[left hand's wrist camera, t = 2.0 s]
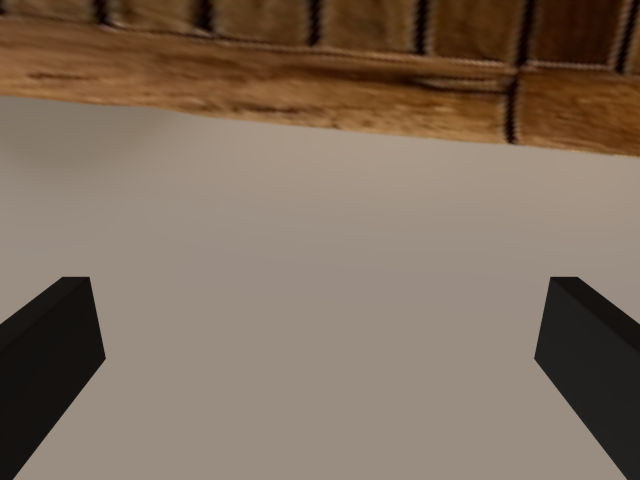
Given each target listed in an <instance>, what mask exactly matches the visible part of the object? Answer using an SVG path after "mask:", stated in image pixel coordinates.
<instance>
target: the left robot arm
mask: <svg viewBox="0 0 640 480" xmlns="http://www.w3.org/2000/svg"><path fill="white" fill-rule="evenodd" d="M105 359H106V357H105V352H104V347H103V342H102V337H101V332H100V327H99V322H98V317H97V312H96V307H95V302H94V297H93V292H92V287H91V282H90V277H62V278H60V279H59V280H58V281H57V282H55V283H54V284H53V285H51V286H50V287H49V288H47V289H46V290H45V291H43V292H42V293H41V294H39V295H38V296H37V297H35V298H34V299H33V300H32V301H30V302H29V303H28V304H26V305H25V306H24V307H22V308H21V309H20V310H18V311H17V312H16V313H14V314H13V315H12V316H11V317H9V318H8V319H7V320H5V321H4V322H3V323H1V324H0V480H13V479H14V477H15V476H16V475H17V473H18V472H19V471H20V470H21V468H22V467H23V466H24V464H25V463H26V462H27V460H28V459H29V458H30V457H31V455H32V454H33V453H34V451H35V450H36V449H37V447H38V446H39V445H40V444H41V442H42V441H43V440H44V438H45V437H46V436H47V434H48V433H49V432H50V431H51V429H52V428H53V427H54V425H55V424H56V423H57V422H58V420H59V419H60V418H61V416H62V415H63V414H64V412H65V411H66V410H67V409H68V407H69V406H70V405H71V403H72V402H73V401H74V399H75V398H76V397H77V396H78V394H79V393H80V392H81V390H82V389H83V388H84V386H85V385H86V384H87V383H88V381H89V380H90V379H91V377H92V376H93V375H94V373H95V372H96V371H97V370H98V368H99V367H100V366H101V364H102V363H103V362H104V360H105ZM534 359H535V360H536V362H537V363H538V364H539V366H540V367H541V368H542V369H543V371H544V372H545V373H546V375H547V376H548V377H549V379H550V380H551V381H552V383H553V384H554V385H555V386H556V388H557V389H558V390H559V392H560V393H561V394H562V396H563V397H564V398H565V399H566V401H567V402H568V403H569V405H570V406H571V407H572V409H573V410H574V411H575V412H576V414H577V415H578V416H579V418H580V419H581V420H582V422H583V423H584V424H585V425H586V427H587V428H588V429H589V431H590V432H591V433H592V434H593V436H594V437H595V438H596V440H597V441H598V442H599V444H600V445H601V446H602V447H603V449H604V450H605V451H606V453H607V454H608V455H609V457H610V458H611V459H612V460H613V462H614V463H615V464H616V466H617V467H618V468H619V470H620V471H621V472H622V473H623V475H624V476H625V477H626V479H627V480H640V324H639V323H637V322H636V321H635V320H633V319H632V318H631V317H629V316H628V315H627V314H626V313H624V312H623V311H622V310H620V309H619V308H618V307H616V306H615V305H614V304H612V303H611V302H610V301H608V300H607V299H606V298H605V297H603V296H602V295H601V294H599V293H598V292H597V291H595V290H594V289H593V288H591V287H590V286H589V285H587V284H586V283H585V282H584V281H582V280H581V279H580V278H578V277H550V282H549V287H548V292H547V297H546V302H545V307H544V312H543V317H542V322H541V327H540V332H539V337H538V342H537V347H536V352H535V357H534Z"/></svg>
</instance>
